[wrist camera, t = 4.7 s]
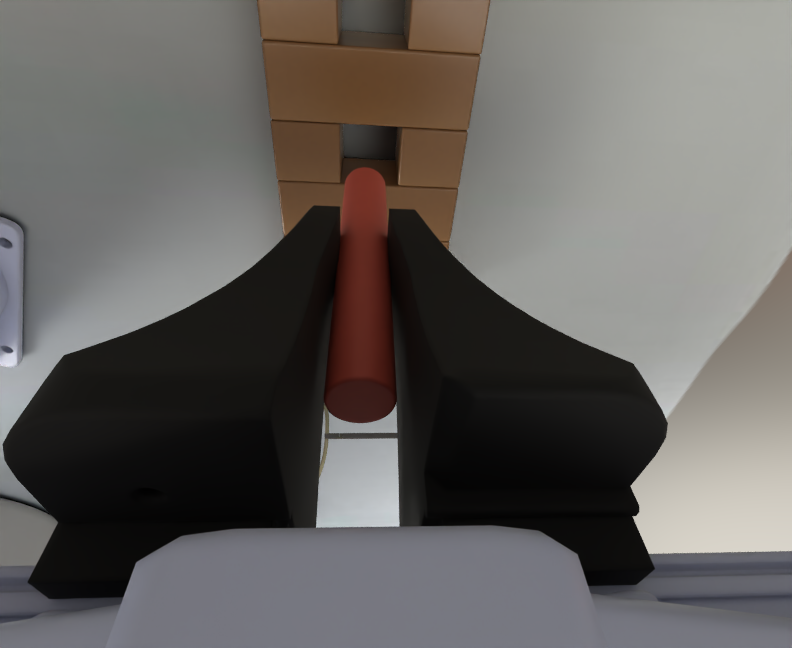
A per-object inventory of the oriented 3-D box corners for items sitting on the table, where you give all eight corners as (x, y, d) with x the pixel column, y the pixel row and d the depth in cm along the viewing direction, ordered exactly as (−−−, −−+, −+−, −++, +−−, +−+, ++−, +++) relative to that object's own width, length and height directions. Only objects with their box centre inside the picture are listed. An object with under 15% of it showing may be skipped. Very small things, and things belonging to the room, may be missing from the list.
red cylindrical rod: (374, 211, 14) (376, 431, 8) (338, 194, 13) (312, 413, 7) (392, 178, 13) (411, 391, 7) (355, 159, 13) (341, 369, 7)
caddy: (431, 290, 22) (436, 322, 20) (299, 286, 22) (292, 319, 20) (495, -141, 12) (516, -151, 11) (255, -166, 12) (235, -180, 10)
